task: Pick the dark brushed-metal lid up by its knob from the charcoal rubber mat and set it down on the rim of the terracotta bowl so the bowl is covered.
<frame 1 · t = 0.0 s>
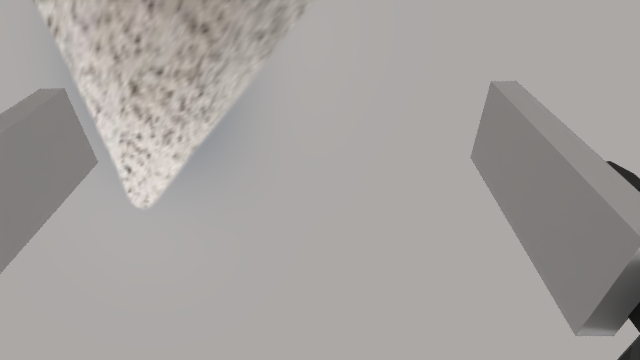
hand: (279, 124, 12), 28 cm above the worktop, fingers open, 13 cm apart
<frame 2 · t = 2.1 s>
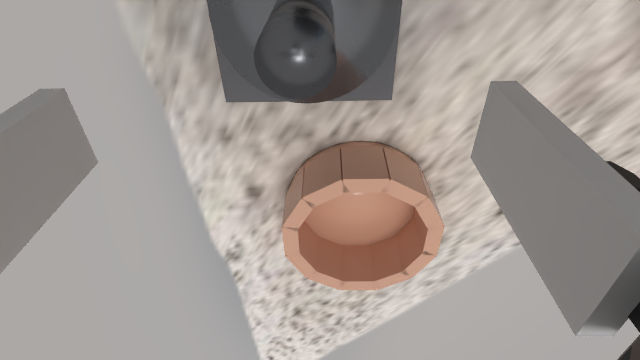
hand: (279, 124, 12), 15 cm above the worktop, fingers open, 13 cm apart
mat: (305, 10, 23), on the worktop
lid: (304, 12, 23), point 1 cm above the worktop, touching mat
bowl: (357, 200, 33), on the worktop
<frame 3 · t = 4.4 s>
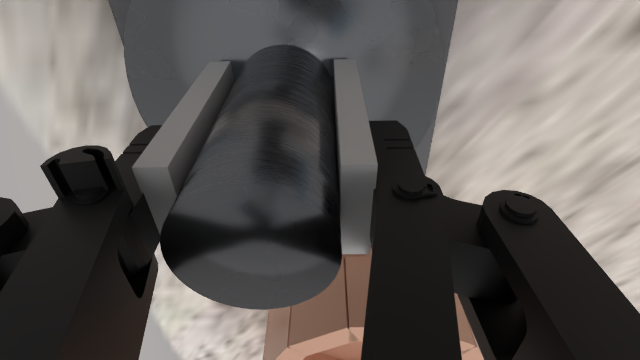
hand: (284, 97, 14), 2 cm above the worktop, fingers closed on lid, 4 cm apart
mat: (289, 78, 15), on the worktop
lid: (287, 84, 14), point 1 cm above the worktop, touching gripper, mat
bowl: (366, 310, 24), on the worktop
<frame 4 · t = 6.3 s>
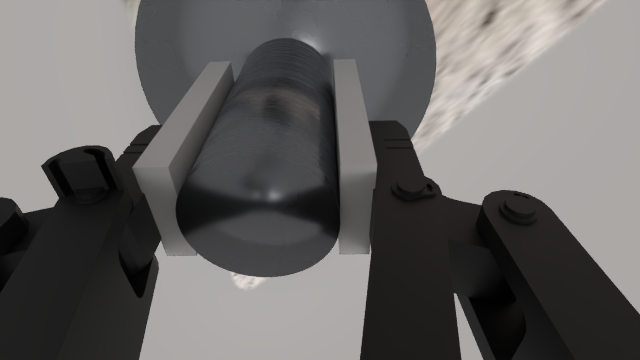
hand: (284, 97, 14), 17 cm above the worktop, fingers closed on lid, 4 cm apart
lid: (288, 77, 15), point 15 cm above the worktop, touching gripper
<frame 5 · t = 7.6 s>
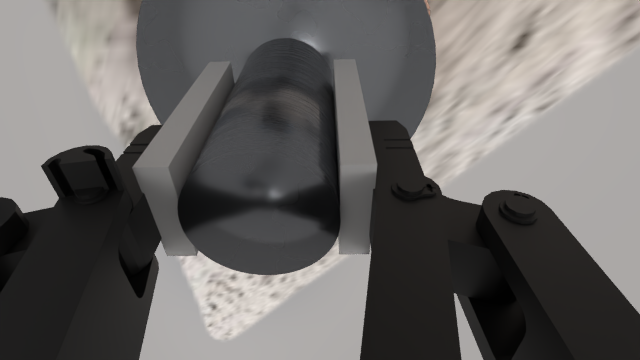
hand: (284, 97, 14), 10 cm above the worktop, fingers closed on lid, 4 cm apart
lid: (289, 77, 15), point 8 cm above the worktop, touching gripper
when the fingers open (8 cm above the worktop, at t = 8.7 s): lid drops 1 cm, resting on bowl.
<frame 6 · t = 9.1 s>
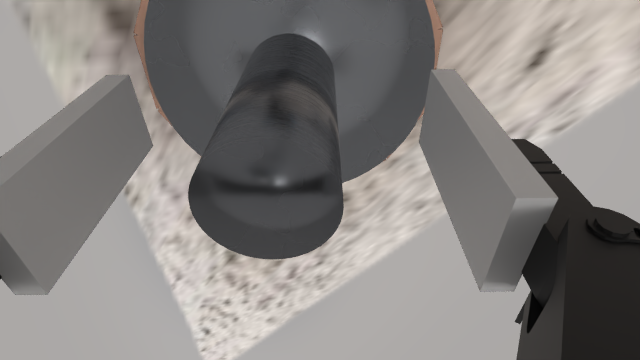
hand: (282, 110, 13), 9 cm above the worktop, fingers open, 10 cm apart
lid: (292, 71, 16), point 5 cm above the worktop, touching bowl
bowl: (296, 38, 20), on the worktop
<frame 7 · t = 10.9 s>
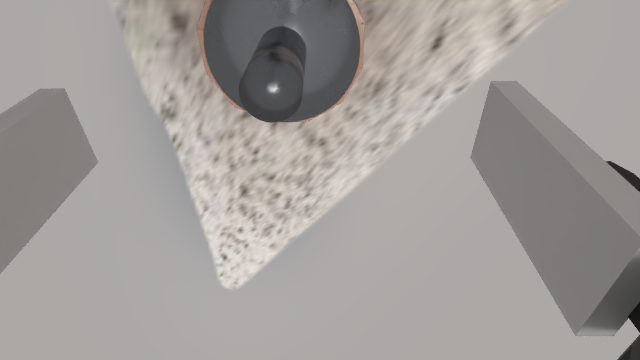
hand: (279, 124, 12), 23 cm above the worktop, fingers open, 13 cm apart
lid: (283, 48, 28), point 5 cm above the worktop, touching bowl
bowl: (287, 31, 32), on the worktop
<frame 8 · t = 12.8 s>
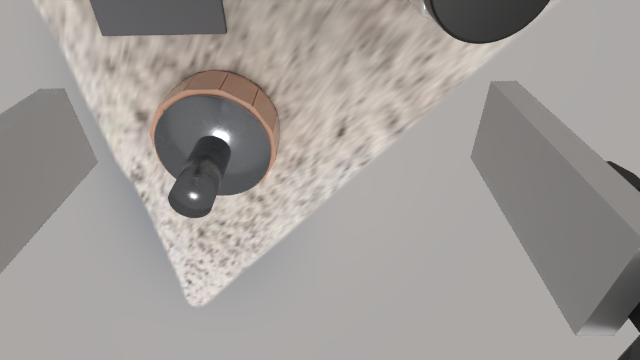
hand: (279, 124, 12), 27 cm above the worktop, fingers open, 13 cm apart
lid: (215, 146, 38), point 5 cm above the worktop, touching bowl
bowl: (224, 123, 42), on the worktop
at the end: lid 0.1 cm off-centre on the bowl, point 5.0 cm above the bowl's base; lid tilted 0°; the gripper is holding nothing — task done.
